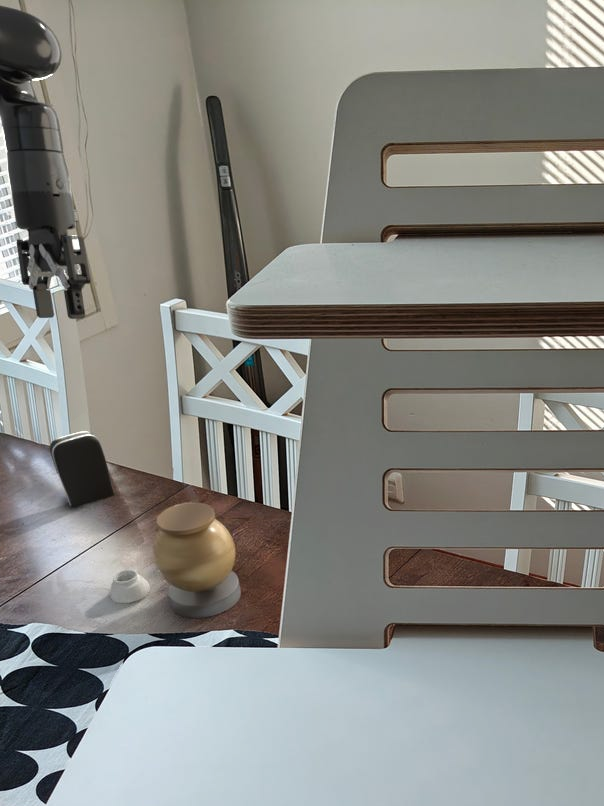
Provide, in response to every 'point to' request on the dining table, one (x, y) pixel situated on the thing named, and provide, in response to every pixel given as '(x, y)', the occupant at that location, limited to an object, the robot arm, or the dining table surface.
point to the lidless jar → (128, 587)
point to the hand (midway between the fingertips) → (61, 318)
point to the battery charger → (81, 468)
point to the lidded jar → (196, 560)
